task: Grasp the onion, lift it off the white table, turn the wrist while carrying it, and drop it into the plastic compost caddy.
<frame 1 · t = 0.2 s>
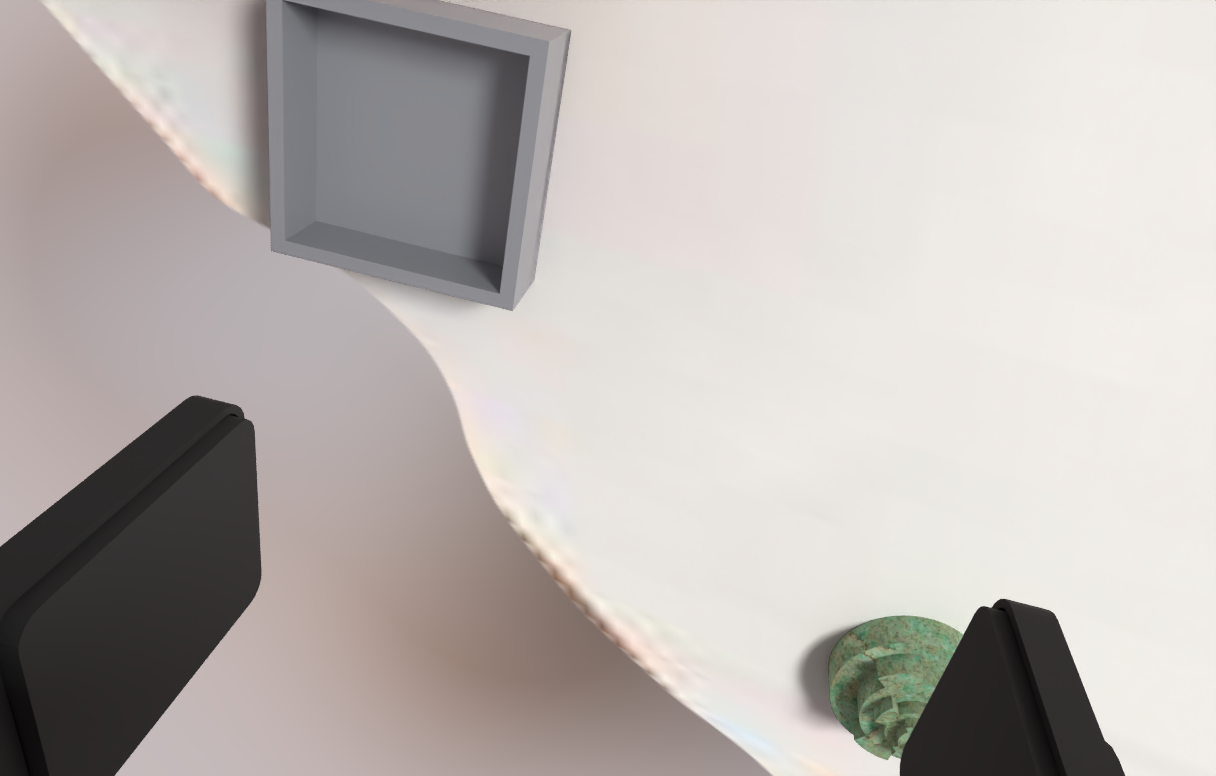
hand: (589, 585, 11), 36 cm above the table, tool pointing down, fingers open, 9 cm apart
caddy: (430, 135, 46), on the table
decorative artifact: (903, 667, 58), on the table
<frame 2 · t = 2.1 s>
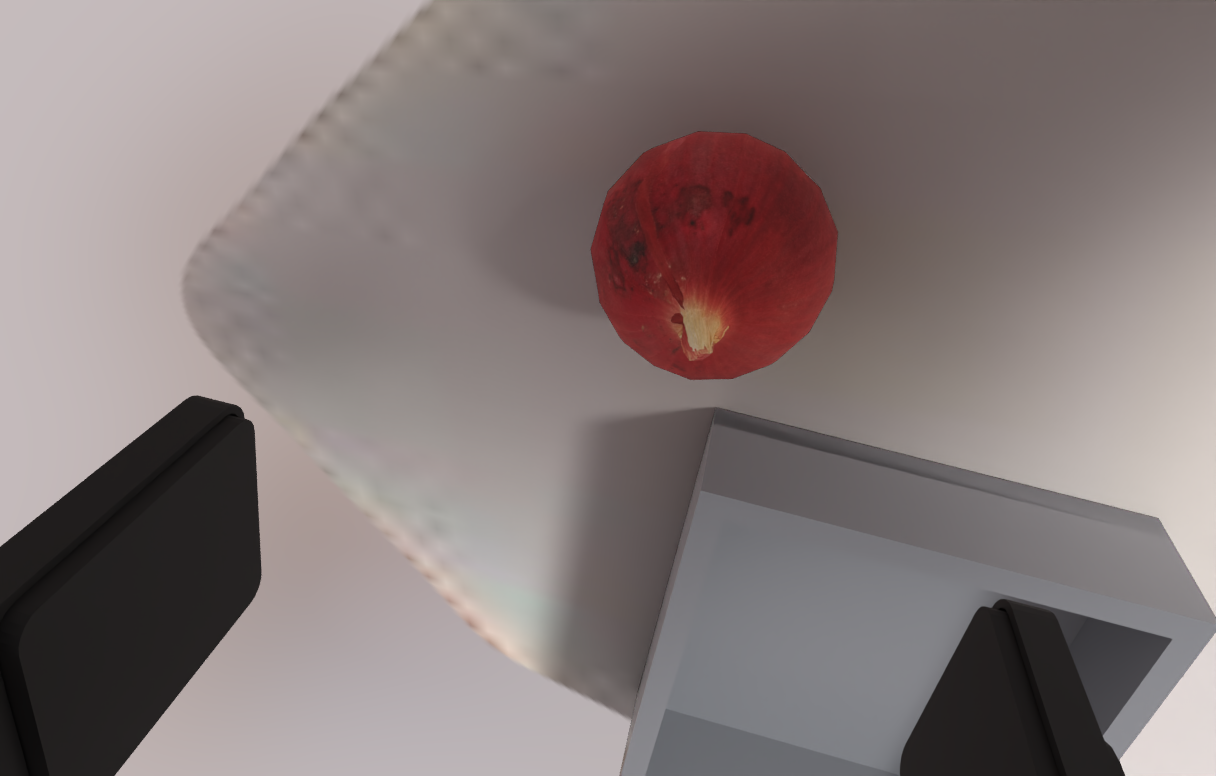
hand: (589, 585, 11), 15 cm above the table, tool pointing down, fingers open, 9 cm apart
caddy: (862, 618, 30), on the table
onion: (725, 209, 24), on the table
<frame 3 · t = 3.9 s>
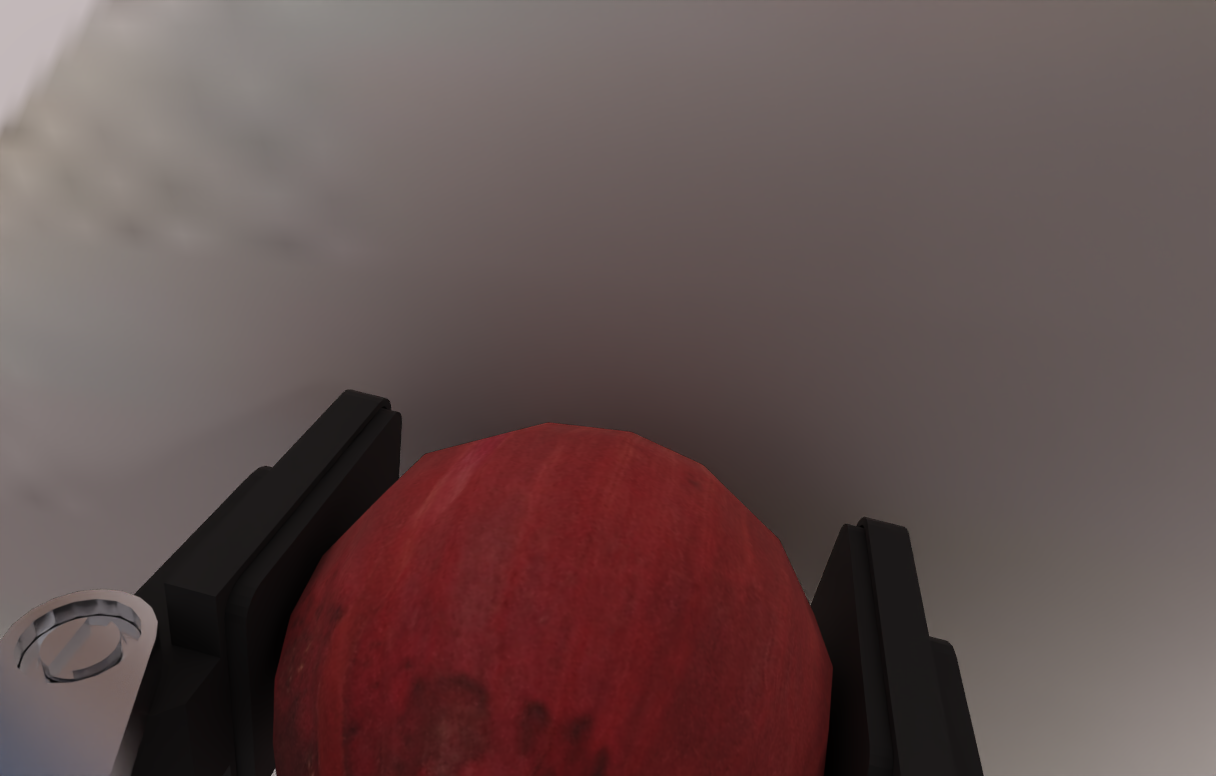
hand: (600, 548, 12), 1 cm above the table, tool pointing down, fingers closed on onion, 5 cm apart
onion: (620, 489, 13), on the table, touching gripper
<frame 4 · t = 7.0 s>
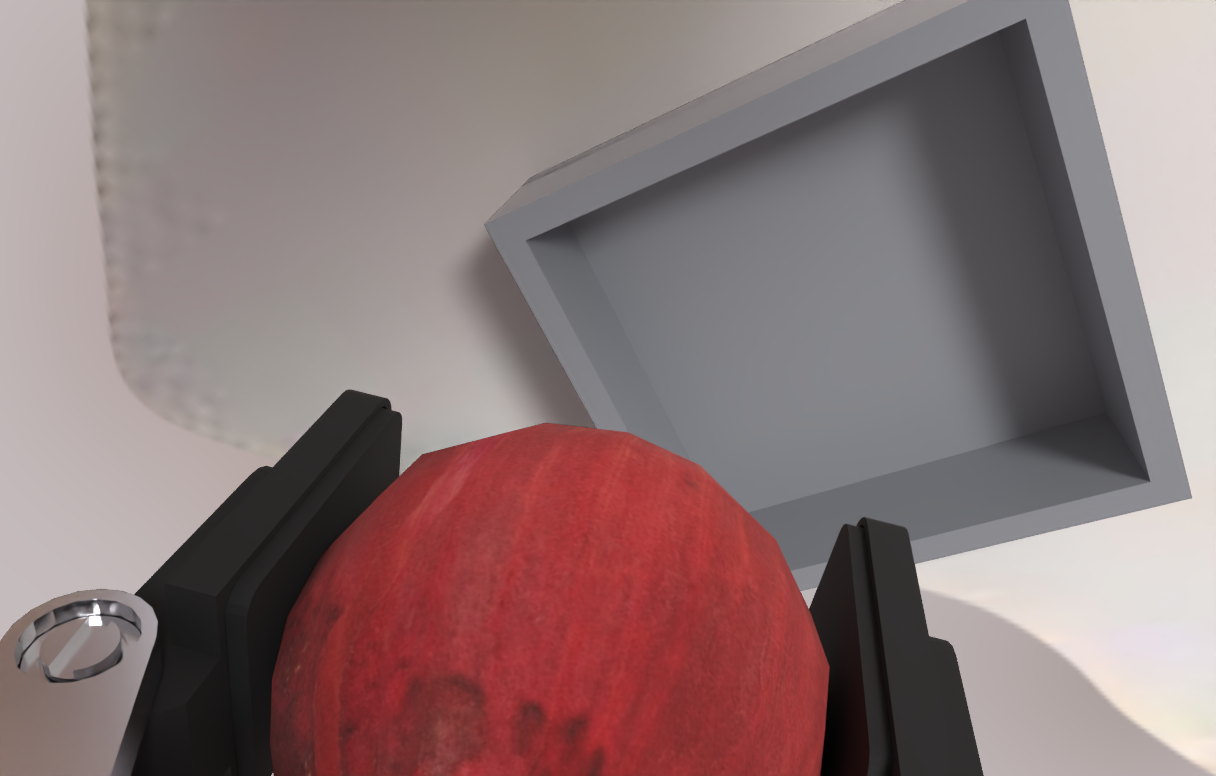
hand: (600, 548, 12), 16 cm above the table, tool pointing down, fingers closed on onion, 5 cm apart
caddy: (830, 293, 25), on the table
onion: (618, 489, 13), point 14 cm above the table, touching gripper
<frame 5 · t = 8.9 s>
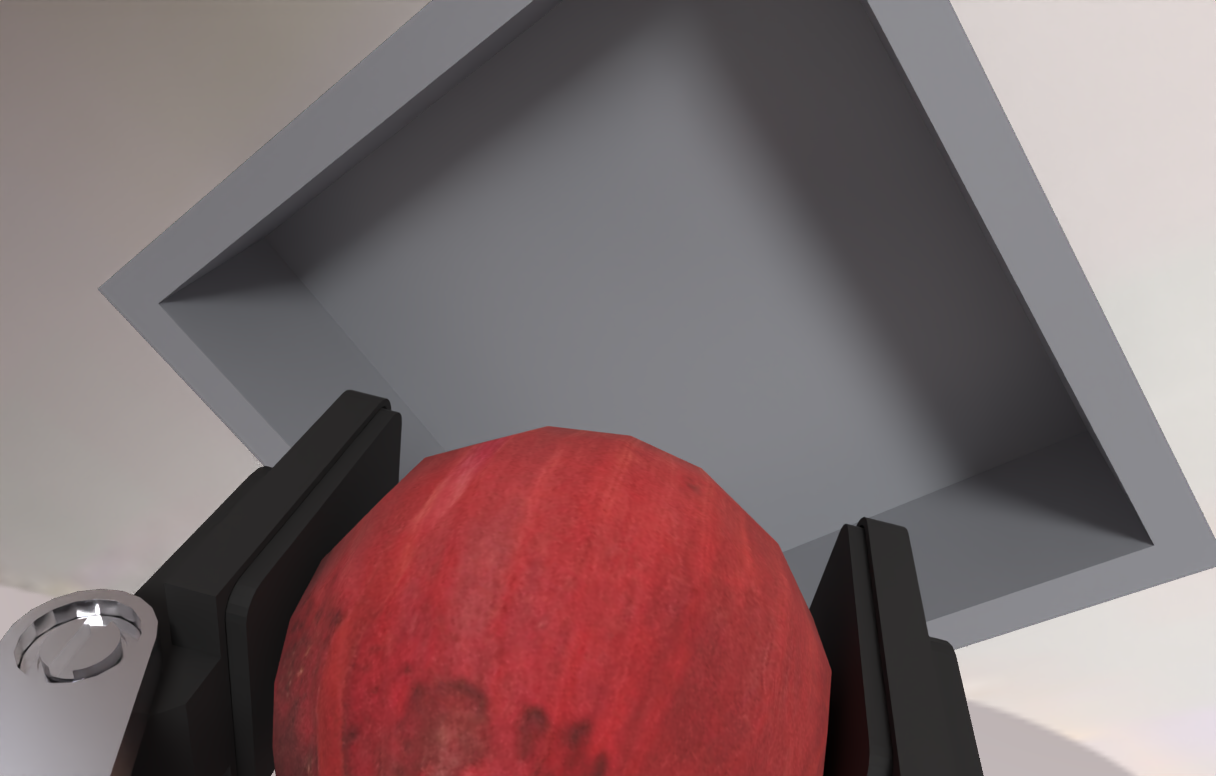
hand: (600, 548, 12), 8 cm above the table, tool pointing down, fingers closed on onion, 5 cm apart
caddy: (667, 310, 18), on the table
onion: (619, 492, 13), point 6 cm above the table, touching gripper
when the fingers open (4 cm above the table, at t = 10.4 s): onion drops 2 cm, resting on caddy.
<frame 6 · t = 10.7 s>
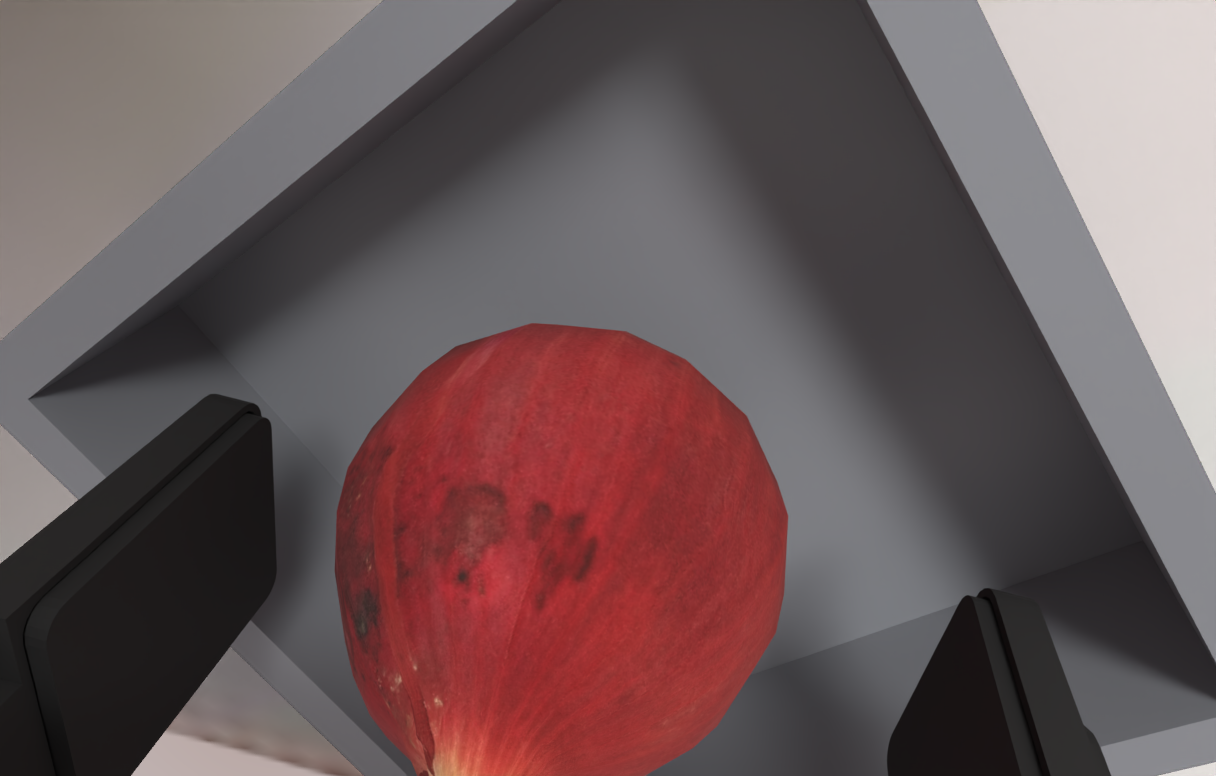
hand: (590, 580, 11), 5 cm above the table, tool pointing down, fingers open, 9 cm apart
caddy: (647, 389, 15), on the table
onion: (622, 401, 15), point 1 cm above the table, touching caddy
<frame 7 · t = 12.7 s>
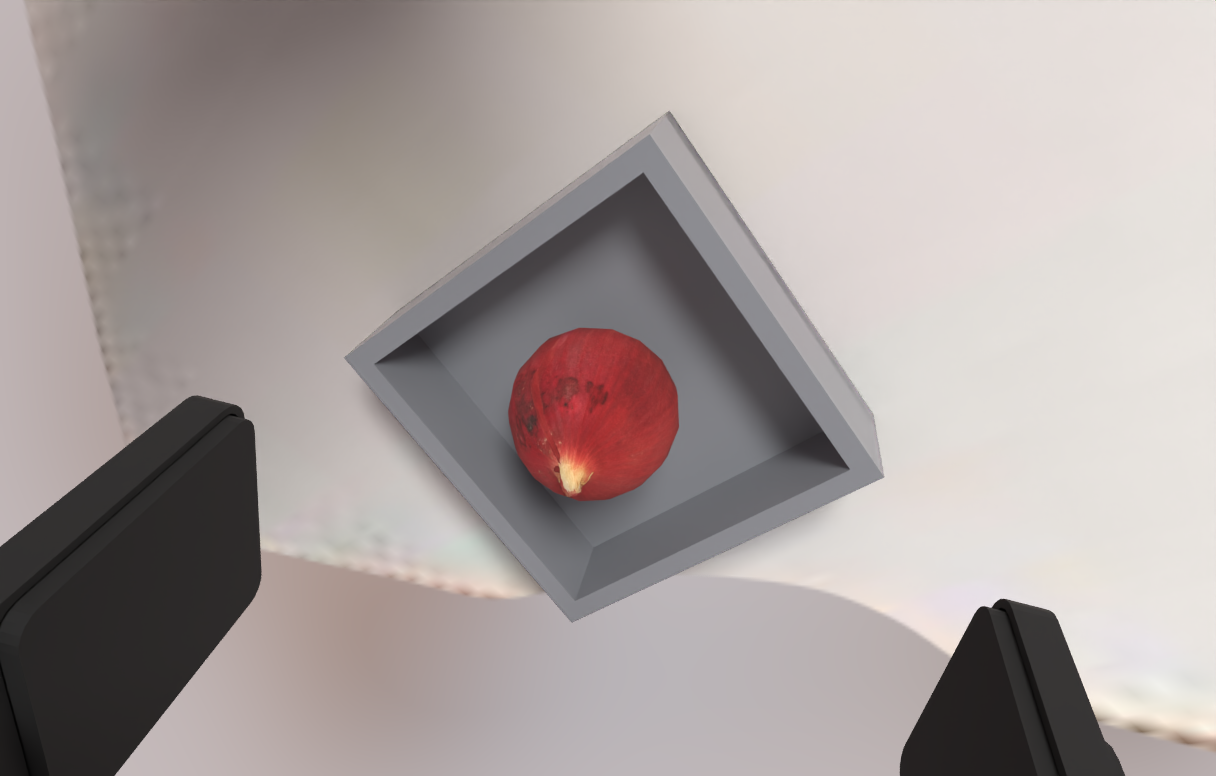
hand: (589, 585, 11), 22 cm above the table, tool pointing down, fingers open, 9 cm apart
caddy: (627, 361, 33), on the table
onion: (614, 365, 33), point 1 cm above the table, touching caddy
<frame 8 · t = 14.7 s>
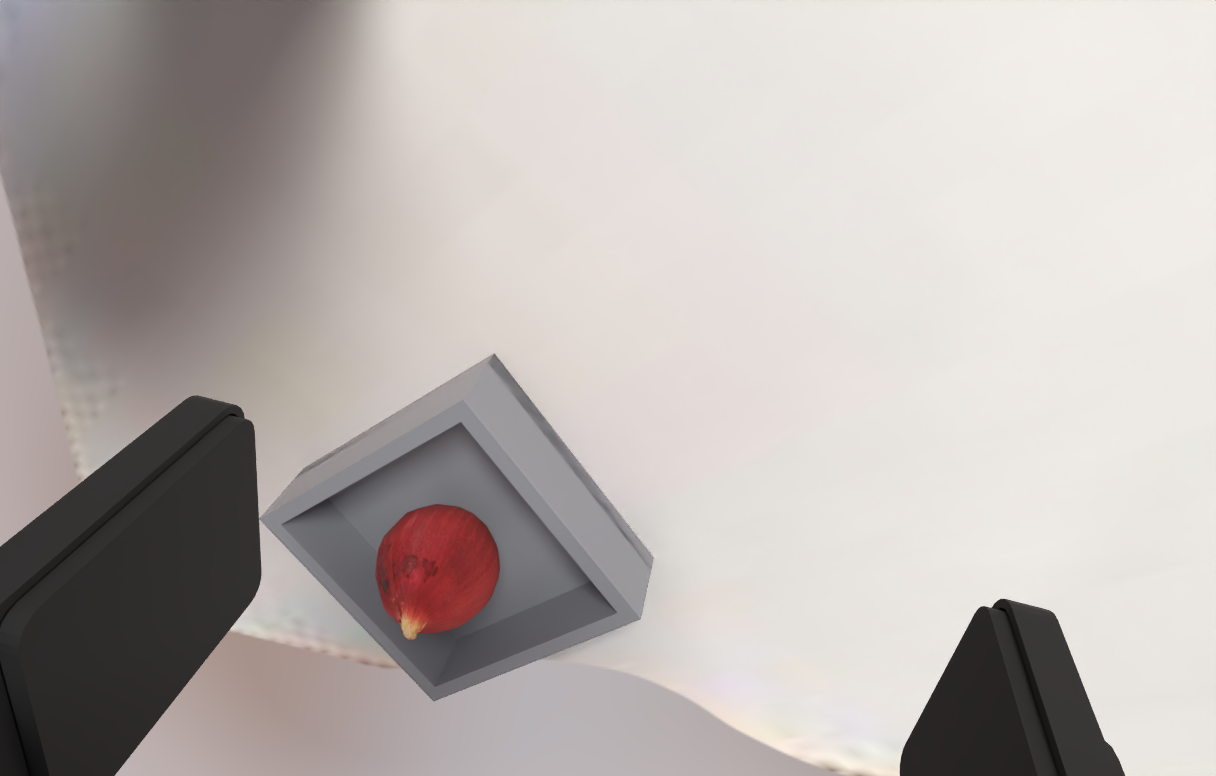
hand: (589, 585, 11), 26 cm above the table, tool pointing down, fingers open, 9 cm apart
caddy: (475, 512, 45), on the table
onion: (464, 517, 44), point 1 cm above the table, touching caddy
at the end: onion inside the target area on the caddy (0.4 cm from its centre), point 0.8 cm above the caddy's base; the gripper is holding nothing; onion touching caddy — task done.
